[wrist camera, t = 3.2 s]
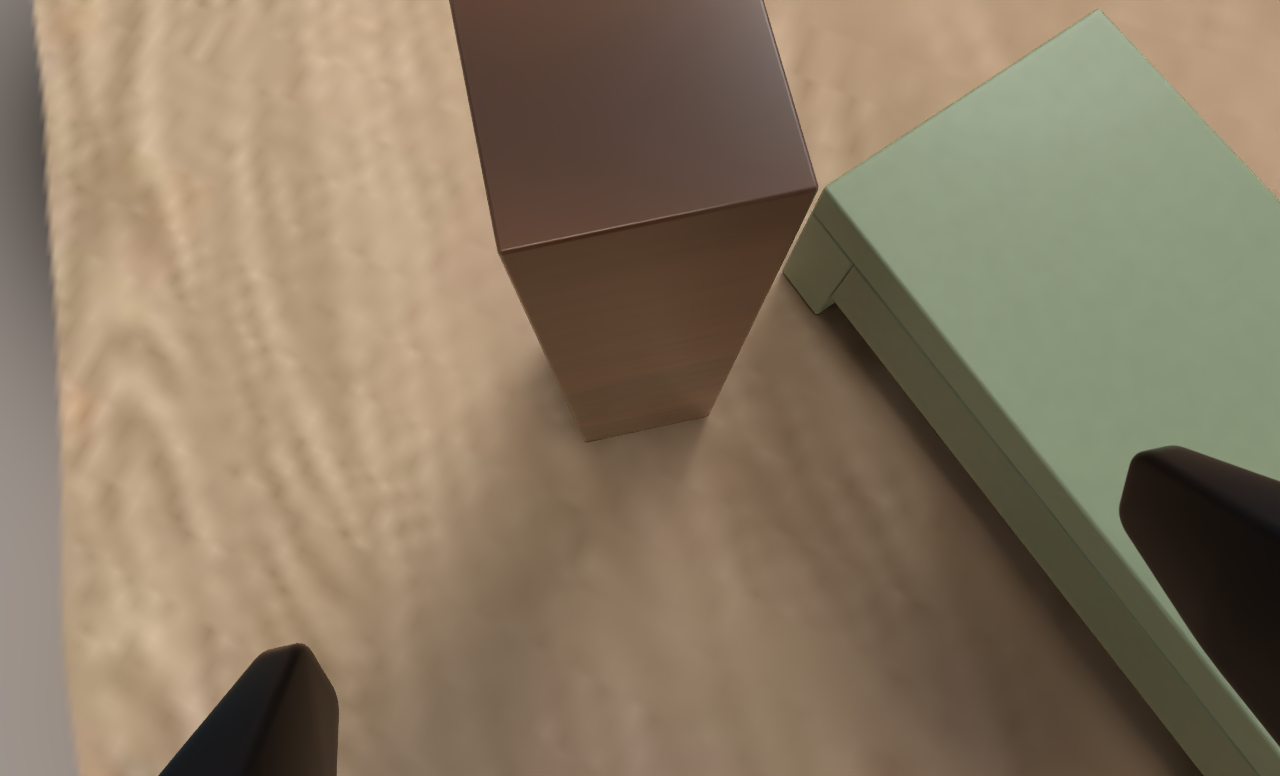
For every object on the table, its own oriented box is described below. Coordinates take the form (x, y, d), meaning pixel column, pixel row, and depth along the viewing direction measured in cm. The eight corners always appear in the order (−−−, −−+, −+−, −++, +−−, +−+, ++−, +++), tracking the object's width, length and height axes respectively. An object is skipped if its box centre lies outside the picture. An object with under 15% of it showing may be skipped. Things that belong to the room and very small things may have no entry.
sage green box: (1232, 858, 18) (1447, 966, 13) (781, 270, 22) (822, 186, 17) (1464, 658, 19) (1742, 691, 14) (1000, 125, 23) (1099, 5, 18)
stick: (709, 415, 21) (820, 188, 8) (585, 443, 20) (498, 255, 8) (680, 298, 21) (740, -82, 9) (560, 323, 21) (443, -26, 9)
